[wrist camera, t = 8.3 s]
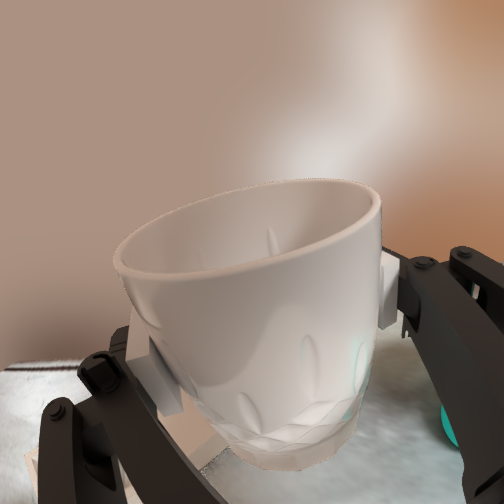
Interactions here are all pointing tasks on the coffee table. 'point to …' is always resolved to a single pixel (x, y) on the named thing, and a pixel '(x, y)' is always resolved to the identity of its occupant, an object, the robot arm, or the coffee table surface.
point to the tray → (184, 434)
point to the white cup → (266, 311)
